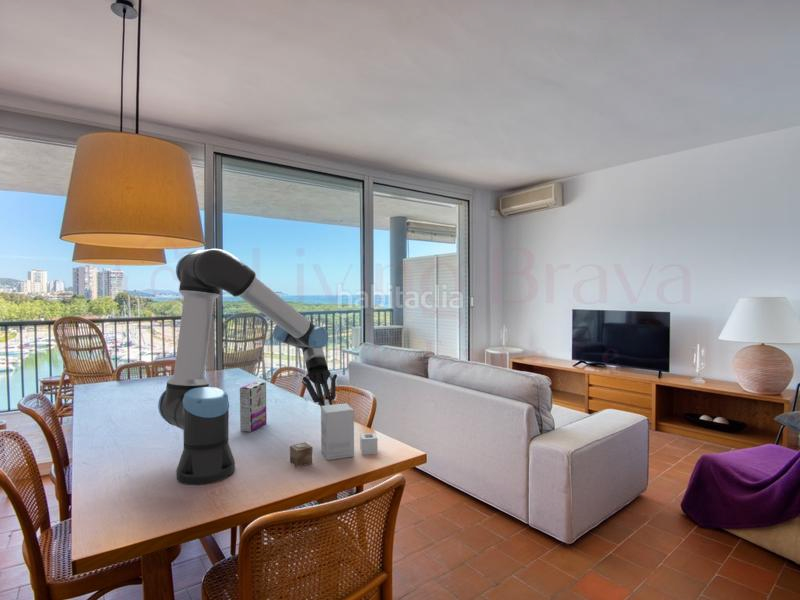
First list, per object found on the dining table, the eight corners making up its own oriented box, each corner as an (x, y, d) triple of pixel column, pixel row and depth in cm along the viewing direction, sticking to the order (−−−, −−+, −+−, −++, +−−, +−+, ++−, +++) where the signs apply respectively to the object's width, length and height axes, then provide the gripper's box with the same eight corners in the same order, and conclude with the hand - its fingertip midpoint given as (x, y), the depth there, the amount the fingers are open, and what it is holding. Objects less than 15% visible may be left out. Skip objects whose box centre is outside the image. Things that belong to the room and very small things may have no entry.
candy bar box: (255, 422, 168) (255, 381, 168) (266, 423, 167) (266, 381, 167) (239, 431, 157) (239, 387, 157) (251, 432, 156) (251, 388, 156)
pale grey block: (361, 454, 136) (361, 438, 136) (360, 449, 141) (360, 433, 141) (377, 453, 137) (377, 437, 137) (375, 448, 142) (375, 432, 142)
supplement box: (347, 447, 142) (347, 402, 142) (354, 456, 134) (354, 409, 134) (320, 450, 139) (320, 405, 139) (325, 460, 131) (326, 412, 130)
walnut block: (296, 467, 126) (296, 449, 126) (289, 461, 130) (290, 445, 130) (312, 463, 129) (312, 446, 129) (305, 458, 133) (305, 441, 133)
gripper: (330, 366, 164) (345, 421, 150) (296, 369, 158) (308, 426, 144) (334, 354, 159) (350, 410, 145) (300, 356, 153) (312, 415, 139)
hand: (329, 418), depth 144 cm, fingers closed
